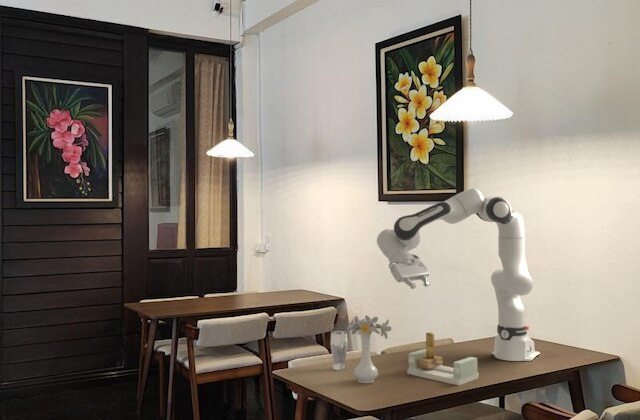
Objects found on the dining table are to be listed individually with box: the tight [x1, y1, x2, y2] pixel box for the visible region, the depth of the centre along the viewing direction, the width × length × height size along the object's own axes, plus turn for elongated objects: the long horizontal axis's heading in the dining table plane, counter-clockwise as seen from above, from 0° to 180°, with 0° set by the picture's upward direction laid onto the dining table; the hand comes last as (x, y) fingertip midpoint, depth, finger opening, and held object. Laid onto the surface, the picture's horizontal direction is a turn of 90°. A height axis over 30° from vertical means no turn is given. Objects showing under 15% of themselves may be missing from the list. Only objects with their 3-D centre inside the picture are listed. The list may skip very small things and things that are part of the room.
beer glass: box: [330, 330, 348, 372], centre depth 267 cm, size 7×7×15 cm
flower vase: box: [345, 315, 392, 384], centre depth 249 cm, size 13×18×25 cm
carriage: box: [418, 332, 444, 369], centre depth 260 cm, size 10×5×13 cm, turn 135°
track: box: [406, 348, 480, 386], centre depth 256 cm, size 14×24×8 cm, turn 45°
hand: (421, 286), depth 270 cm, fingers open, 8 cm apart
